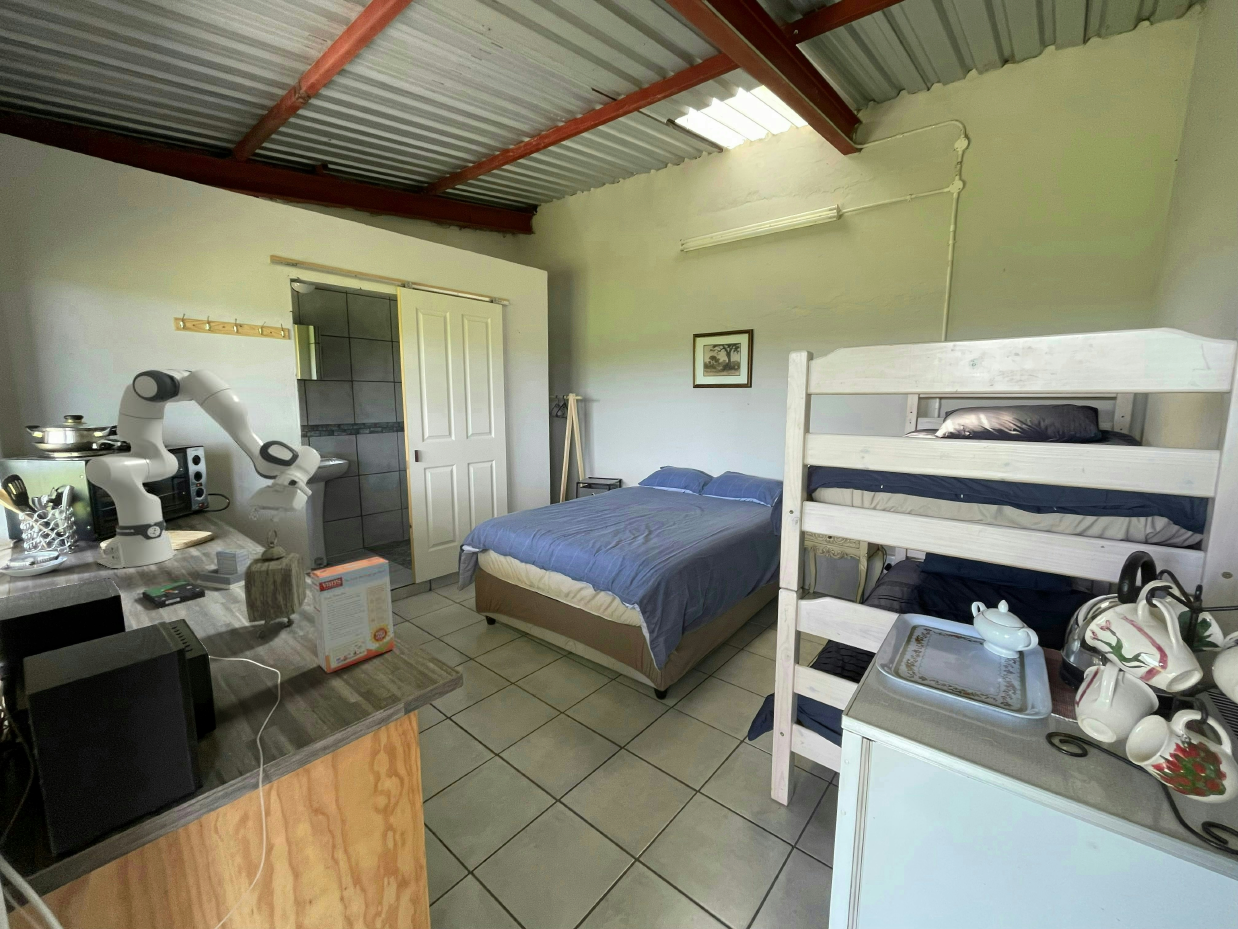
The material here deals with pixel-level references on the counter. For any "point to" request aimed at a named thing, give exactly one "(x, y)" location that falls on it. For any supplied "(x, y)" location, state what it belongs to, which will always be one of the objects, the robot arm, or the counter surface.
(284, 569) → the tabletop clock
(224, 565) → the medicine box
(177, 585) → the disk drive
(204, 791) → the counter surface
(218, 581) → the dock
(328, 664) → the cracker box
